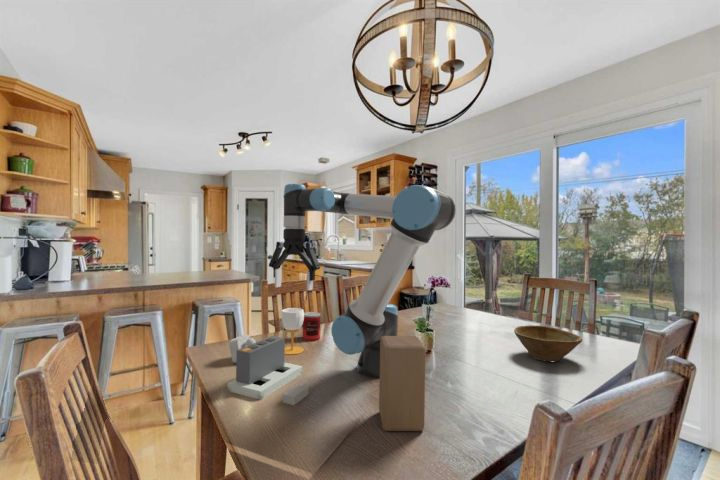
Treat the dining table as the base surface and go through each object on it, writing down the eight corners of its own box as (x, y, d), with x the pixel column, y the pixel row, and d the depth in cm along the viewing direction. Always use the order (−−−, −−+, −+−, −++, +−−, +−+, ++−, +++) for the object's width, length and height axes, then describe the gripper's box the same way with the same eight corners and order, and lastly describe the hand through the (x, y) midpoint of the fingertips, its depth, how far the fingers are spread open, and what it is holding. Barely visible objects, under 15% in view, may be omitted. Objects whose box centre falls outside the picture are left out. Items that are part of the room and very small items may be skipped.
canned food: (311, 334, 155) (312, 311, 155) (323, 338, 150) (324, 313, 150) (298, 338, 149) (299, 313, 149) (311, 342, 144) (311, 316, 144)
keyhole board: (302, 375, 110) (302, 366, 110) (260, 402, 92) (260, 391, 91) (272, 368, 115) (273, 360, 115) (227, 393, 96) (227, 383, 96)
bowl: (590, 373, 115) (590, 344, 115) (516, 364, 123) (517, 337, 123) (572, 353, 136) (573, 328, 136) (510, 346, 143) (511, 322, 143)
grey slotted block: (284, 372, 110) (284, 337, 110) (249, 392, 96) (250, 351, 96) (271, 369, 112) (272, 334, 112) (236, 388, 98) (236, 349, 98)
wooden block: (416, 410, 89) (417, 334, 88) (425, 432, 79) (426, 347, 79) (378, 410, 88) (379, 334, 88) (382, 432, 78) (383, 347, 78)
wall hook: (260, 365, 116) (254, 336, 117) (234, 369, 118) (228, 341, 119) (271, 357, 124) (265, 330, 125) (246, 361, 126) (240, 335, 127)
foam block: (308, 396, 95) (308, 386, 95) (293, 408, 89) (294, 396, 89) (297, 394, 97) (298, 383, 97) (282, 405, 90) (282, 394, 90)
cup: (275, 353, 130) (276, 311, 130) (288, 345, 139) (288, 307, 139) (296, 356, 127) (297, 313, 127) (307, 348, 136) (308, 308, 136)
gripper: (330, 228, 118) (329, 289, 118) (272, 228, 128) (272, 284, 128) (319, 228, 111) (318, 292, 111) (259, 227, 121) (258, 287, 121)
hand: (293, 288), depth 120 cm, fingers open, 13 cm apart
